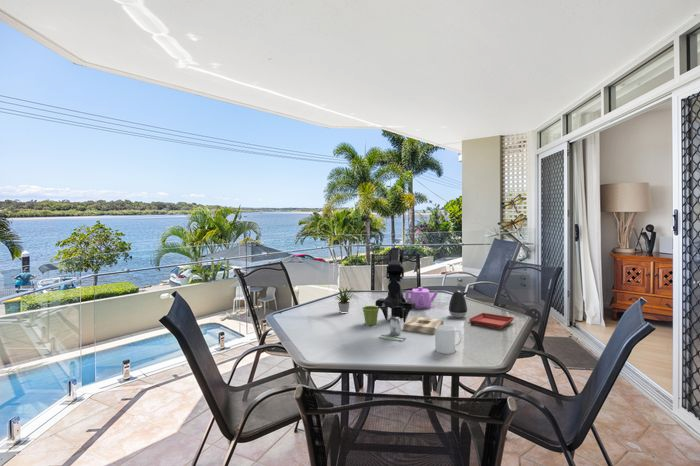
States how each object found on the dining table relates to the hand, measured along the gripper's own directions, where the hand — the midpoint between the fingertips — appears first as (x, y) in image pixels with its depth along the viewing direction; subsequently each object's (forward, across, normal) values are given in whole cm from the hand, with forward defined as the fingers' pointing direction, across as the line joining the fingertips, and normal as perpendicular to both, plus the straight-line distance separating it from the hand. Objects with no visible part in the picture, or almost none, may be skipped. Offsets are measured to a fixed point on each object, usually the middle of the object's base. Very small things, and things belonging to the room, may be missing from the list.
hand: (395, 321), depth 182 cm
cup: (+7, +28, -8) cm, 30 cm away
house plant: (+7, -44, +29) cm, 53 cm away
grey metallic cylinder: (+7, 0, 0) cm, 7 cm away
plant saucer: (+8, +38, +42) cm, 57 cm away
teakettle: (+8, -8, +64) cm, 65 cm away
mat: (+7, 0, 0) cm, 7 cm away
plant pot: (+7, -20, +14) cm, 26 cm away
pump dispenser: (+7, +19, +48) cm, 52 cm away
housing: (+7, +9, +16) cm, 20 cm away
